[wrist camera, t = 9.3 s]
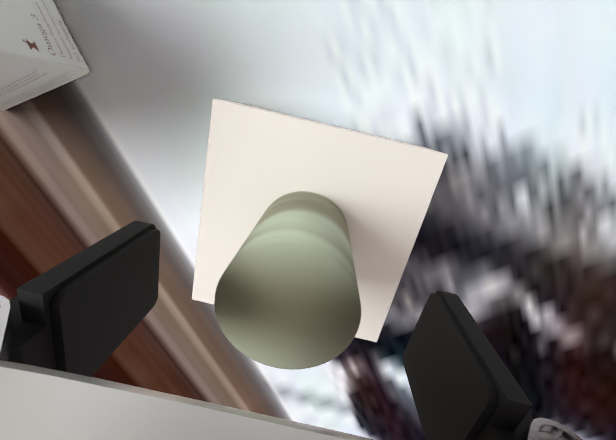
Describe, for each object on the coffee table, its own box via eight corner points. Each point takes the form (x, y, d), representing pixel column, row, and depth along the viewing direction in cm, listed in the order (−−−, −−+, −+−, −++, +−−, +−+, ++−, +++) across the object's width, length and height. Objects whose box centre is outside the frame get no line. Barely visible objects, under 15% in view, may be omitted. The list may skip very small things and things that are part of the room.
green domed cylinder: (268, 181, 16) (223, 228, 9) (359, 203, 16) (380, 265, 9) (253, 262, 17) (207, 351, 11) (335, 282, 17) (339, 382, 11)
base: (236, 102, 18) (212, 98, 14) (423, 147, 18) (448, 154, 15) (215, 268, 22) (191, 299, 19) (368, 304, 22) (376, 342, 19)
